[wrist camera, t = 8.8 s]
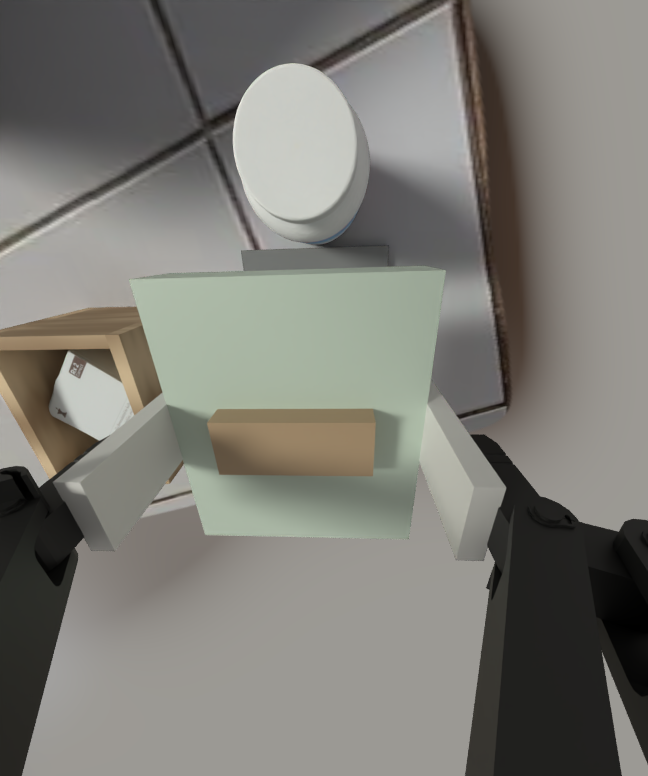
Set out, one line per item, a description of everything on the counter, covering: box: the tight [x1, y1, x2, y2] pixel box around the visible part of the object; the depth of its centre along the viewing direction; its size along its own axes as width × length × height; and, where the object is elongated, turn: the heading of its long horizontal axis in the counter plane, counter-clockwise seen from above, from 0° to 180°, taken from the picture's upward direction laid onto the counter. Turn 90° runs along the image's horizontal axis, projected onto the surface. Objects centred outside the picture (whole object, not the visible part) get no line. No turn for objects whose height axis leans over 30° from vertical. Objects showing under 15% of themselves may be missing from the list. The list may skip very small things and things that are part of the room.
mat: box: [241, 246, 389, 271], centre depth 25 cm, size 13×11×1 cm
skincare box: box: [49, 349, 134, 441], centre depth 24 cm, size 6×6×7 cm
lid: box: [129, 266, 446, 539], centre depth 12 cm, size 12×10×4 cm
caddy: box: [0, 307, 184, 484], centre depth 23 cm, size 11×9×9 cm
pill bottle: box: [233, 63, 370, 244], centre depth 16 cm, size 6×6×11 cm
